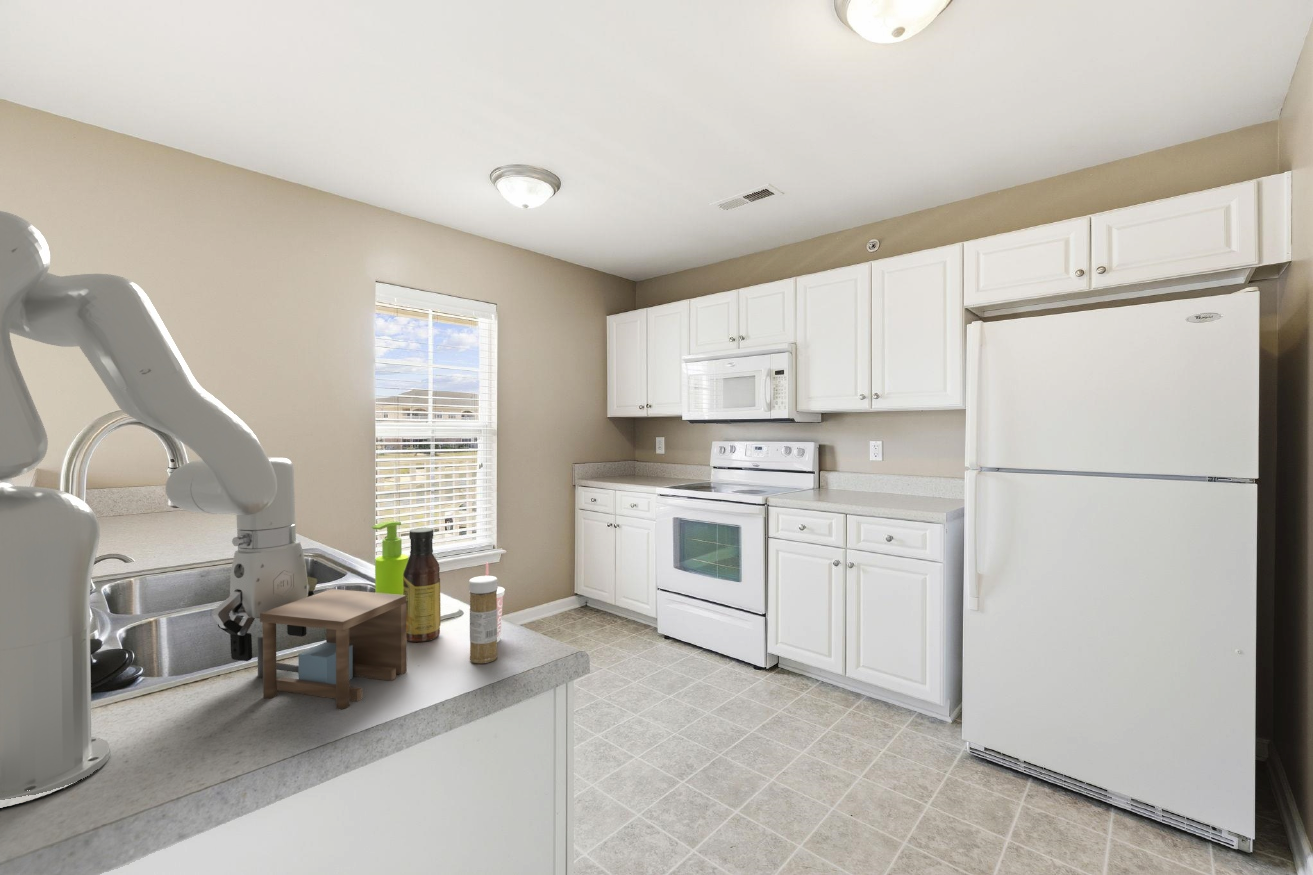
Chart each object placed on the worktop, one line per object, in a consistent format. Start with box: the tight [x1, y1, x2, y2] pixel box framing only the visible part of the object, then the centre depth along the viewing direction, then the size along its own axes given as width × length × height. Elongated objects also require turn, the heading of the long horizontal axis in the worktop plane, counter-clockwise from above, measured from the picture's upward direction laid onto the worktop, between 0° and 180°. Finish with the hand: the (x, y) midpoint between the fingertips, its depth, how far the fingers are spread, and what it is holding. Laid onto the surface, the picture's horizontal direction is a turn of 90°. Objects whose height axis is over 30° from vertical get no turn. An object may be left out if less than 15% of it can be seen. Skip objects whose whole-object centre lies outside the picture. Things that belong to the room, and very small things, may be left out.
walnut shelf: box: [259, 588, 408, 710], centre depth 88 cm, size 13×14×12 cm
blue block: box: [256, 634, 354, 684], centre depth 90 cm, size 5×15×6 cm, turn 76°
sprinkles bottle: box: [468, 575, 499, 664], centre depth 97 cm, size 5×5×14 cm
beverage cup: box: [468, 562, 505, 643], centre depth 106 cm, size 6×6×14 cm
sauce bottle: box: [403, 527, 442, 643], centre depth 107 cm, size 7×6×20 cm
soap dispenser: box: [371, 520, 409, 595], centre depth 114 cm, size 6×7×20 cm
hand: (270, 646), depth 92 cm, fingers open, 9 cm apart
